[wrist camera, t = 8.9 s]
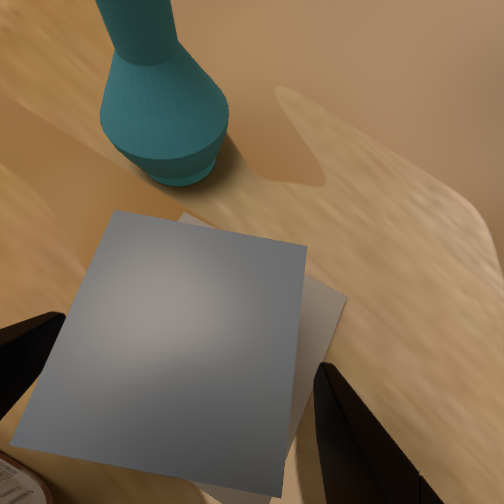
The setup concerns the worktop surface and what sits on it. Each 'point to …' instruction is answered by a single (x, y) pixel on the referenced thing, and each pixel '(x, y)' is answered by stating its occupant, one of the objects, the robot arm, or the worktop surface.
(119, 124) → the teal vase
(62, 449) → the gray rectangular block
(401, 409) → the worktop surface
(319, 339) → the thin square base plate
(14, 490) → the tin
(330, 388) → the robot arm
